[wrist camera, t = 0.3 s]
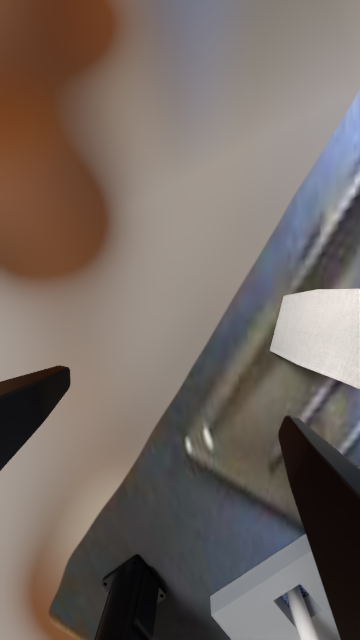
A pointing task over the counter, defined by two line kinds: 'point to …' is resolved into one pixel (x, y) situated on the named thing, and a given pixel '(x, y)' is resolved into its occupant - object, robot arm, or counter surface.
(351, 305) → the white gabled carton
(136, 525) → the counter surface
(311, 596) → the hook board
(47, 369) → the robot arm
